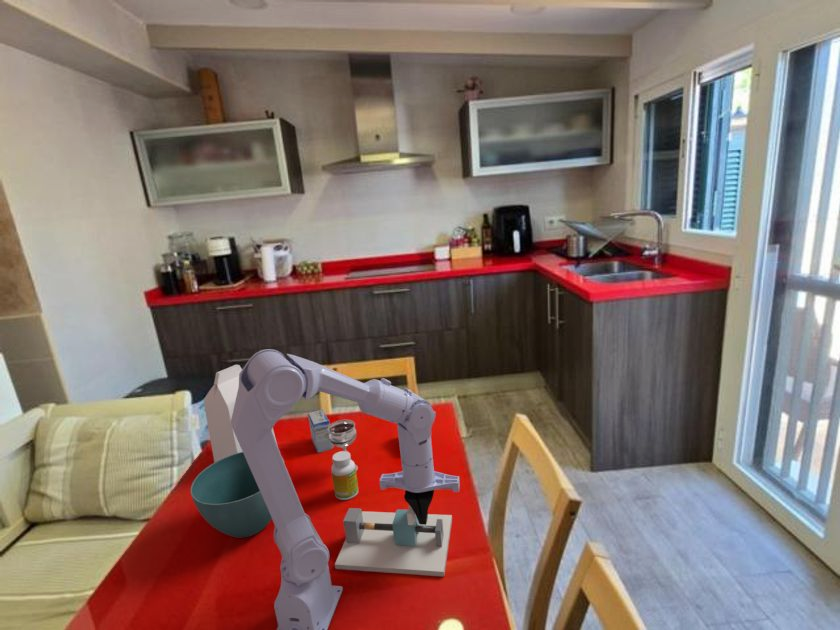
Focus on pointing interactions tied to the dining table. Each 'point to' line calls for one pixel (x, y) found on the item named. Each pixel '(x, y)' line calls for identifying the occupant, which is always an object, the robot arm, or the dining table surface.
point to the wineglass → (342, 434)
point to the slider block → (405, 527)
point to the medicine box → (320, 431)
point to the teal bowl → (231, 497)
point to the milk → (223, 413)
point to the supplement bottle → (344, 476)
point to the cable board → (393, 545)
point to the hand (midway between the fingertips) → (423, 520)
